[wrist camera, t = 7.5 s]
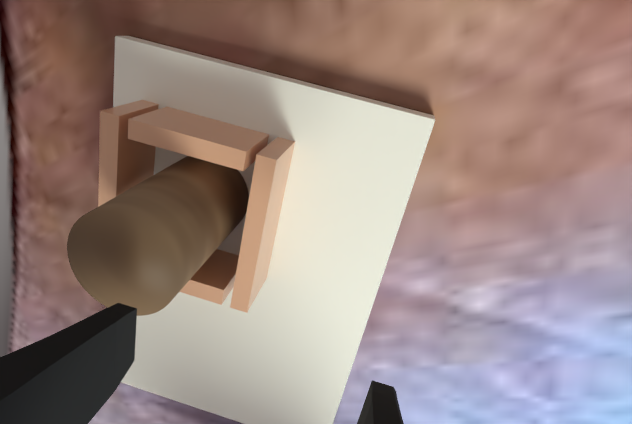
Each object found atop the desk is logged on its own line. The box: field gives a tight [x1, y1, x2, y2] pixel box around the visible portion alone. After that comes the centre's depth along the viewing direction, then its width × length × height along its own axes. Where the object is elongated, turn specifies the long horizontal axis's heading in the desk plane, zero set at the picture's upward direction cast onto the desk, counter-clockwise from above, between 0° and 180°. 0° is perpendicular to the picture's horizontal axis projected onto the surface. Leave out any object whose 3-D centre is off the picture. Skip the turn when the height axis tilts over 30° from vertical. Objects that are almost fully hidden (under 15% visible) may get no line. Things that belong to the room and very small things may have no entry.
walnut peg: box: [67, 156, 249, 316], centre depth 18 cm, size 4×4×7 cm
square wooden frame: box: [98, 100, 295, 313], centre depth 20 cm, size 7×7×3 cm
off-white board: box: [107, 36, 435, 424], centre depth 23 cm, size 20×14×1 cm
